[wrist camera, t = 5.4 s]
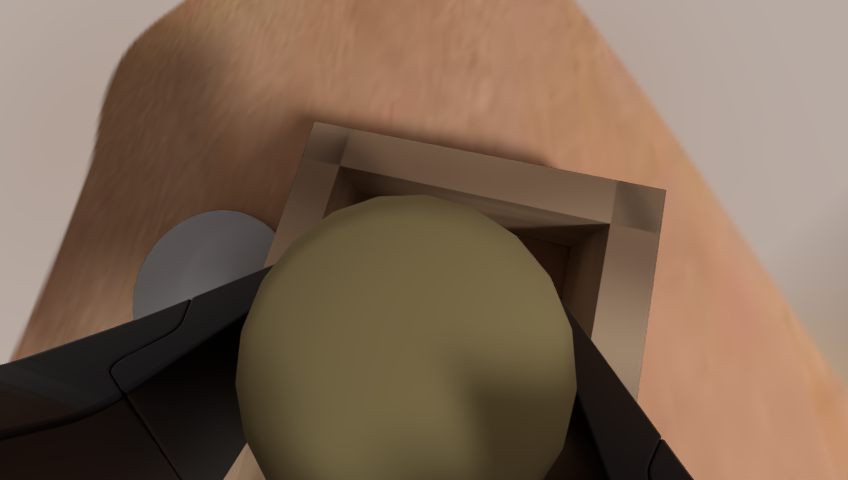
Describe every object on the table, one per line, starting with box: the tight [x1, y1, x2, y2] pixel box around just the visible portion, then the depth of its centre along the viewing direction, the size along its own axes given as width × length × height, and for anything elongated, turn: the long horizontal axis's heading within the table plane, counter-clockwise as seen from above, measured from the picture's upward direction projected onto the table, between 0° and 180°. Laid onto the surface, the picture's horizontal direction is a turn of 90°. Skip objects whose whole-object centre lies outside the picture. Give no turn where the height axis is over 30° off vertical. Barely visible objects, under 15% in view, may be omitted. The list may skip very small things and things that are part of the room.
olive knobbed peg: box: [235, 195, 577, 480], centre depth 9 cm, size 6×6×11 cm
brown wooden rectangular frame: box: [224, 122, 666, 480], centre depth 12 cm, size 17×12×4 cm
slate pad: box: [133, 210, 276, 320], centre depth 16 cm, size 8×8×1 cm
